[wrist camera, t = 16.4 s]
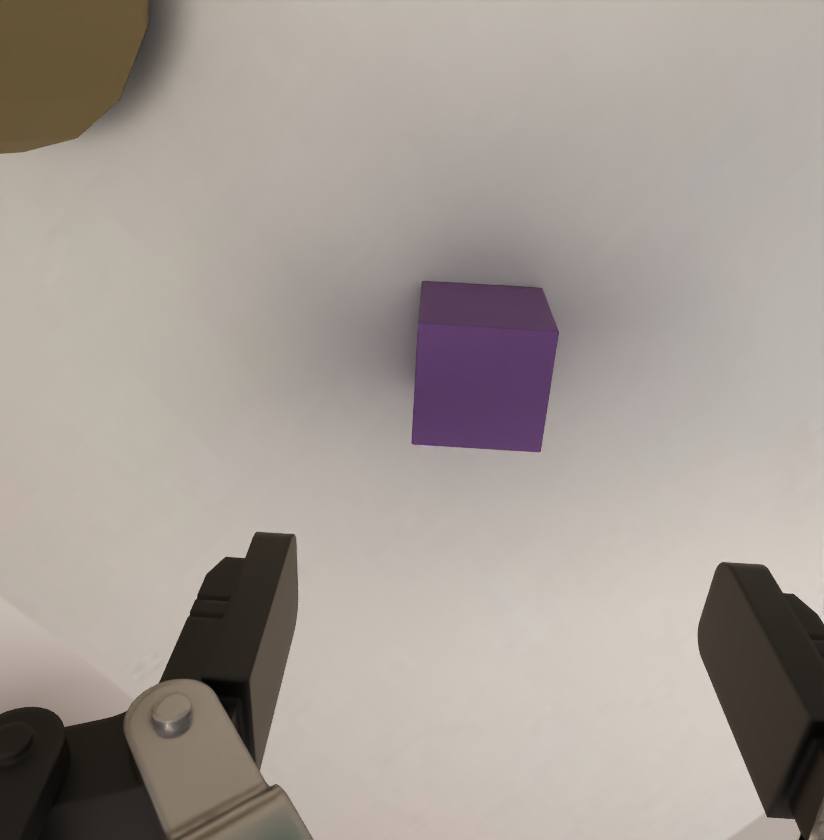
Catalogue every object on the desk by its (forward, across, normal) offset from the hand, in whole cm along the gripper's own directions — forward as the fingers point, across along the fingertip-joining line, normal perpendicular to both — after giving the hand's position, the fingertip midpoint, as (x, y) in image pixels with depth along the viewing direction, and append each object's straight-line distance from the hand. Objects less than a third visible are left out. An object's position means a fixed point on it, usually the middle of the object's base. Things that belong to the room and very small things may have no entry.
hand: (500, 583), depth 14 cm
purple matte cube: (+13, 0, 0) cm, 13 cm away
